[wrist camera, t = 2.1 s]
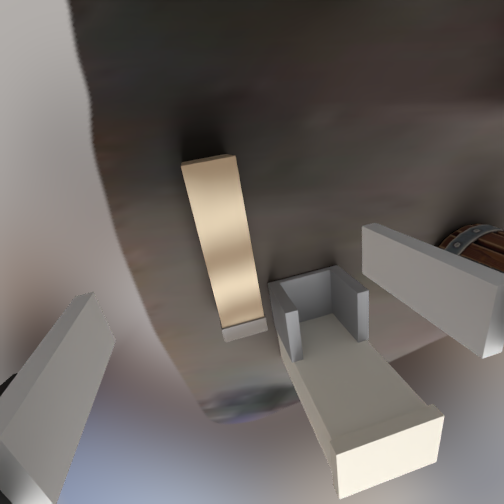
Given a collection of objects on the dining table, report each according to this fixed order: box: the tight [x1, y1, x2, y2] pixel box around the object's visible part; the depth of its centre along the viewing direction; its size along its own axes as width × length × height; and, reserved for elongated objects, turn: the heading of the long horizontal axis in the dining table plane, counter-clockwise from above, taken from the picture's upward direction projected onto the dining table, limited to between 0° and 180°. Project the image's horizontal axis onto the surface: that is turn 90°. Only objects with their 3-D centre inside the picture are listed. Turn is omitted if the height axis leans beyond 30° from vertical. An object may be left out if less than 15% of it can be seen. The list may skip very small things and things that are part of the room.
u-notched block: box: [268, 265, 444, 499], centre depth 26 cm, size 11×9×15 cm
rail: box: [181, 154, 268, 343], centre depth 25 cm, size 16×4×5 cm, turn 10°
